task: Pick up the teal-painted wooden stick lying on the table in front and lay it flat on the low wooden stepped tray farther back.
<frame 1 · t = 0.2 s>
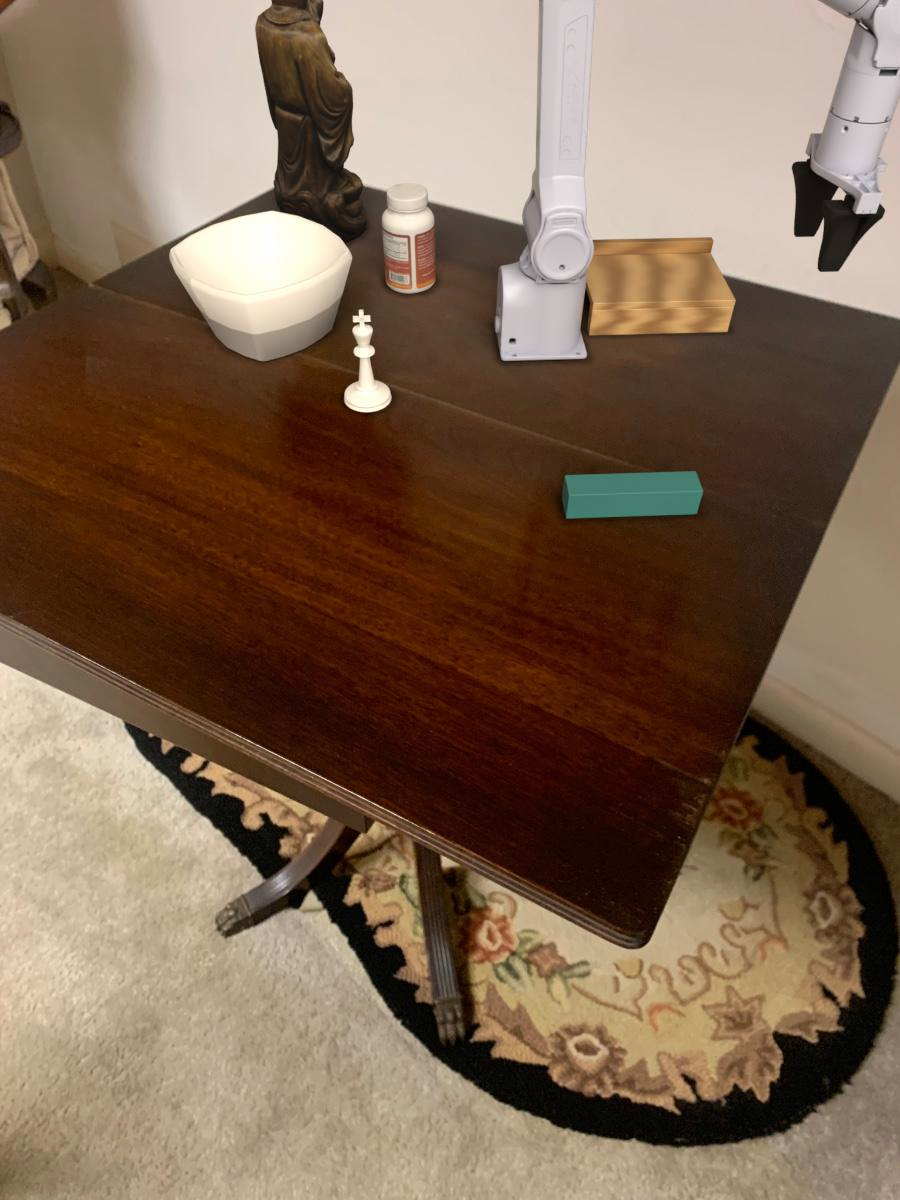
hand: (815, 252, 93), 10 cm above the table, tool pointing down, fingers open, 7 cm apart
pill bottle: (410, 284, 109), on the table
stick: (628, 506, 81), on the table
bowl: (272, 331, 101), on the table
sculpture: (325, 230, 118), on the table
wooden stepped tray: (647, 306, 105), on the table
chess piece: (367, 400, 92), on the table
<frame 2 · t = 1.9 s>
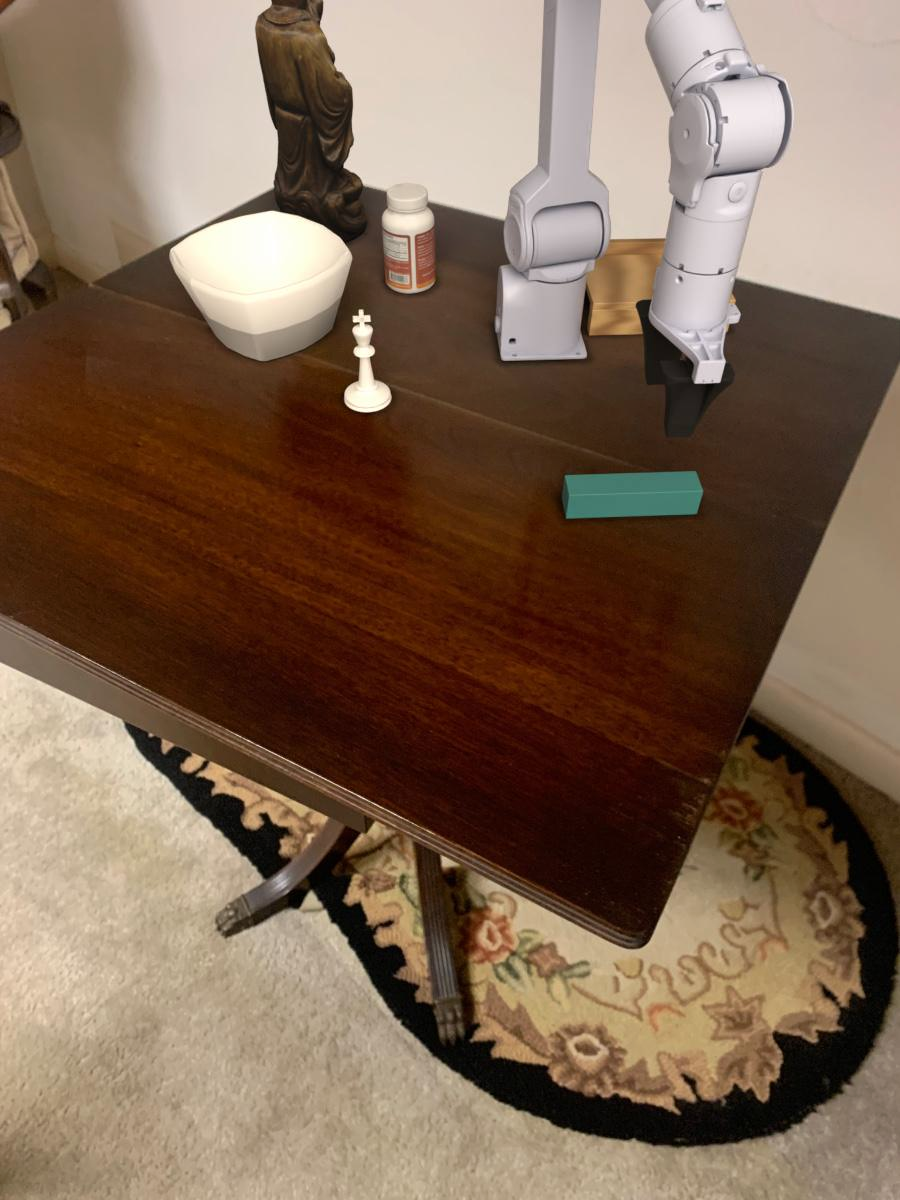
hand: (667, 407, 77), 9 cm above the table, tool pointing down, fingers open, 7 cm apart
nothing on the table moved.
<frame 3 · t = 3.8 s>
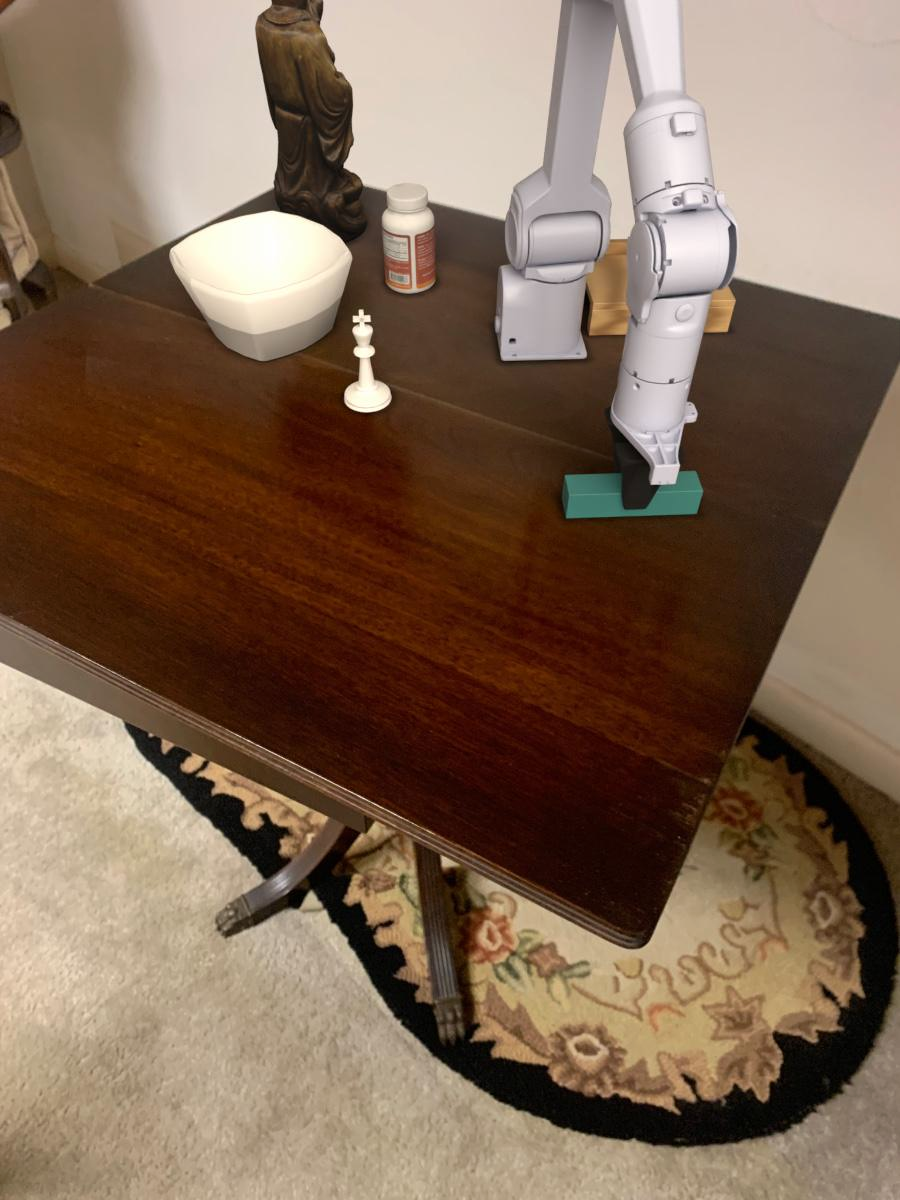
hand: (631, 494, 80), 1 cm above the table, tool pointing down, fingers closed on stick, 3 cm apart
stick: (628, 506, 81), on the table, touching gripper
everything else where it was.
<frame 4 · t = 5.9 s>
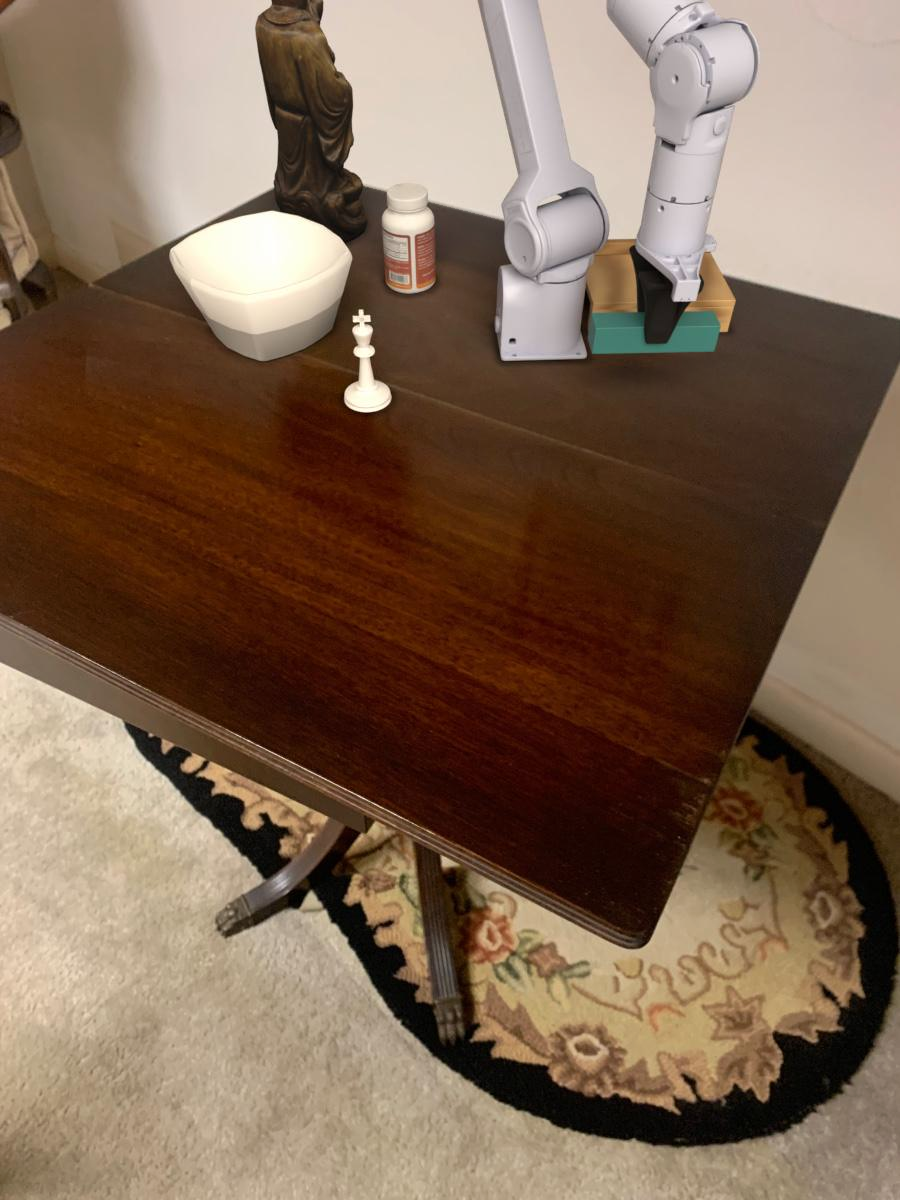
hand: (652, 332, 85), 8 cm above the table, tool pointing down, fingers closed on stick, 3 cm apart
stick: (650, 345, 87), point 7 cm above the table, touching gripper
everything else where it was.
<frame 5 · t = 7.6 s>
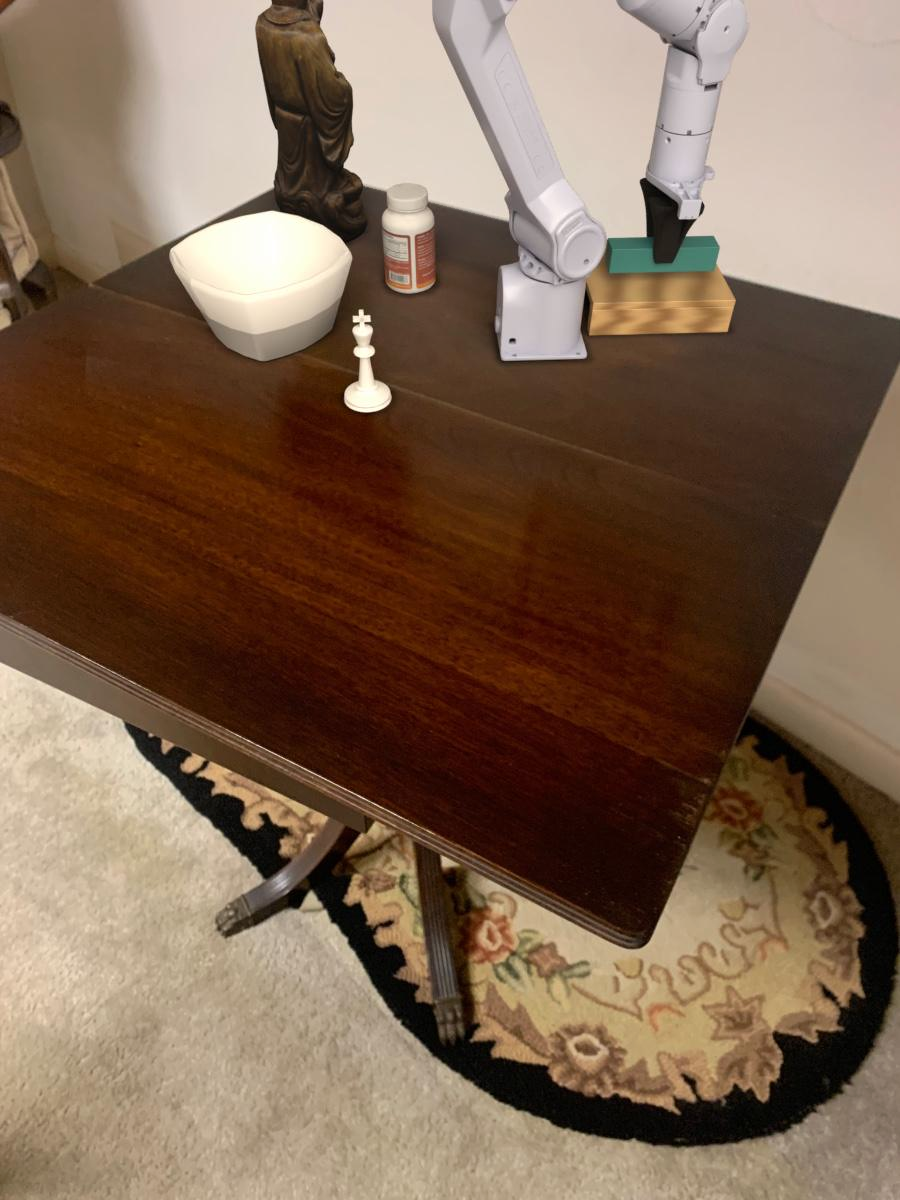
hand: (660, 254, 99), 7 cm above the table, tool pointing down, fingers closed on stick, 3 cm apart
stick: (659, 266, 100), point 6 cm above the table, touching gripper
everything else where it was.
when the fingers open (5 cm above the table, at t = 8.4 s): stick stays where it is, resting on wooden stepped tray.
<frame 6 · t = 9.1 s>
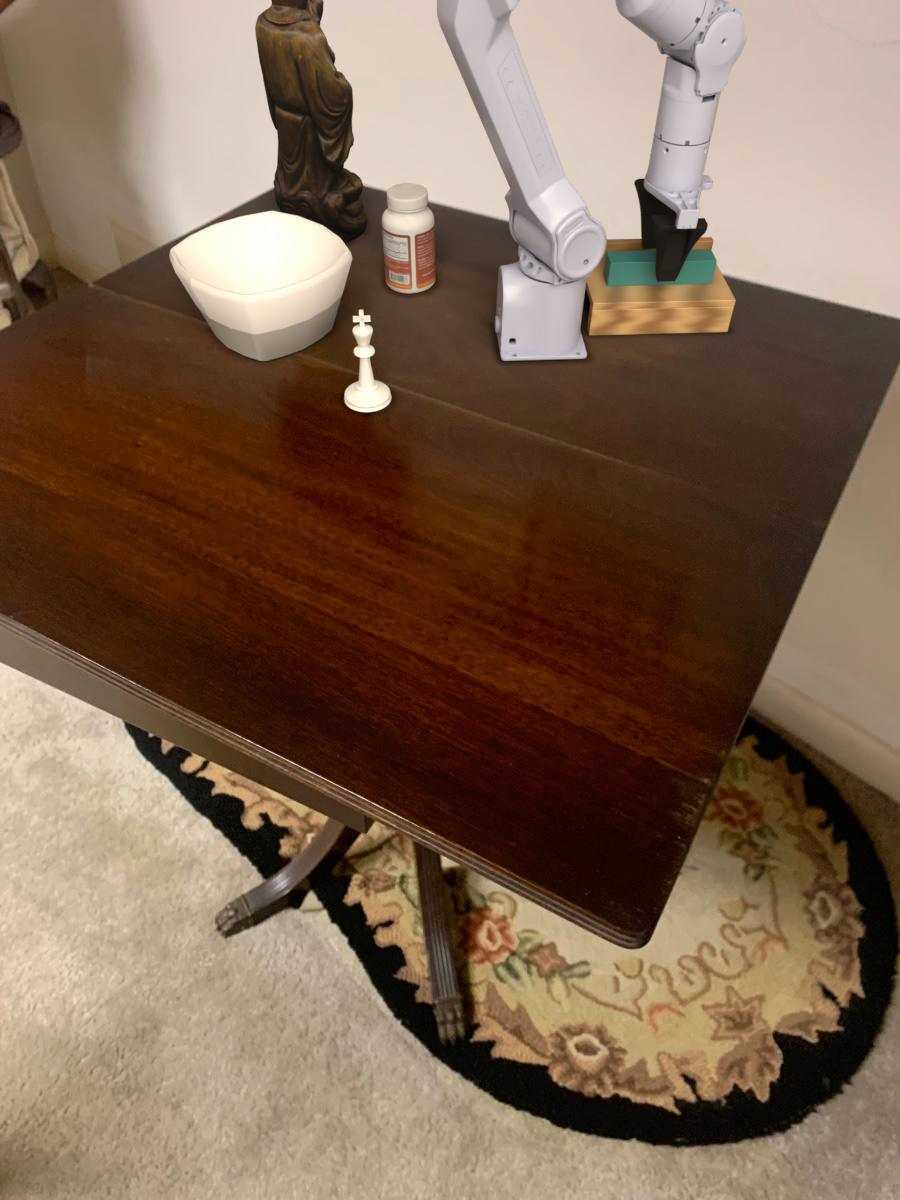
hand: (658, 263, 100), 6 cm above the table, tool pointing down, fingers open, 7 cm apart
stick: (656, 279, 101), point 4 cm above the table, touching wooden stepped tray
everything else where it was.
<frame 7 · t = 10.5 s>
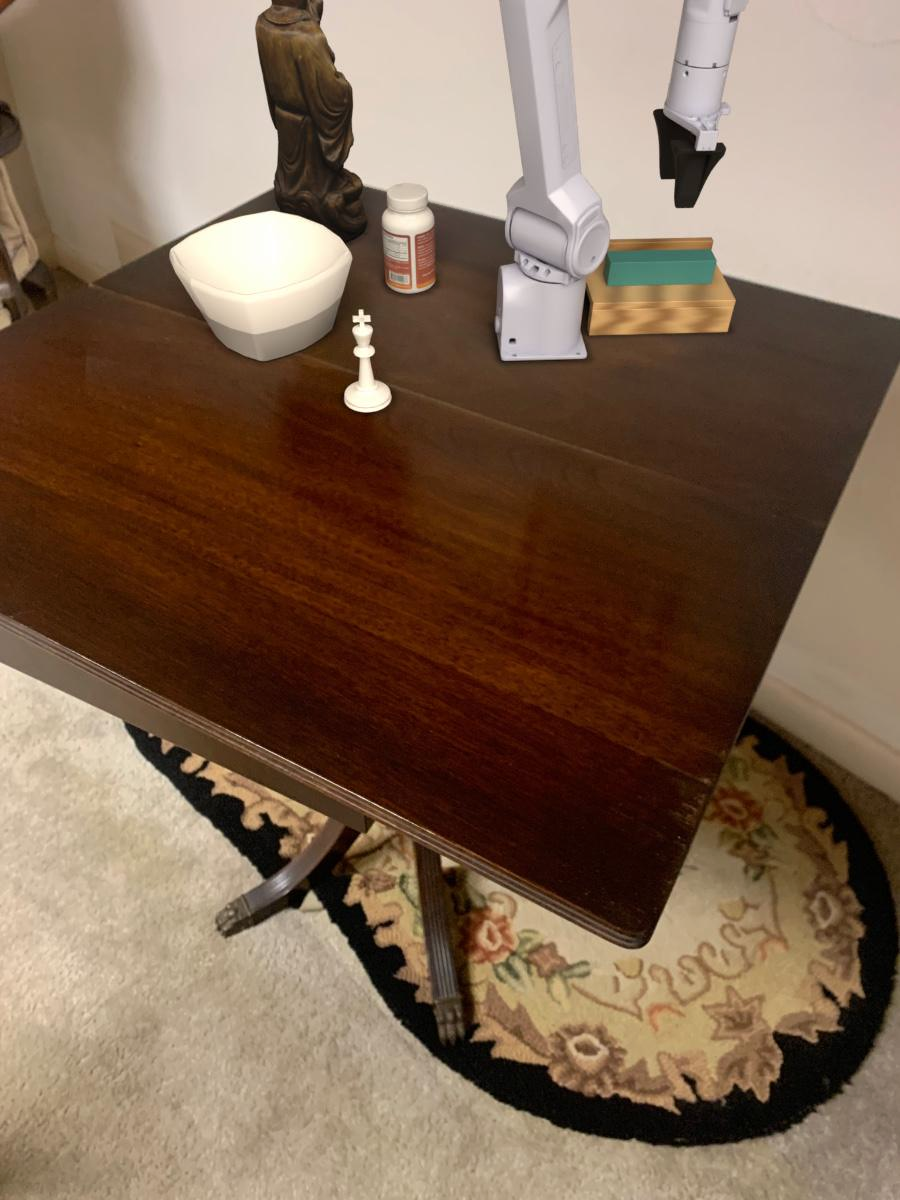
hand: (676, 192, 102), 10 cm above the table, tool pointing down, fingers open, 7 cm apart
nothing on the table moved.
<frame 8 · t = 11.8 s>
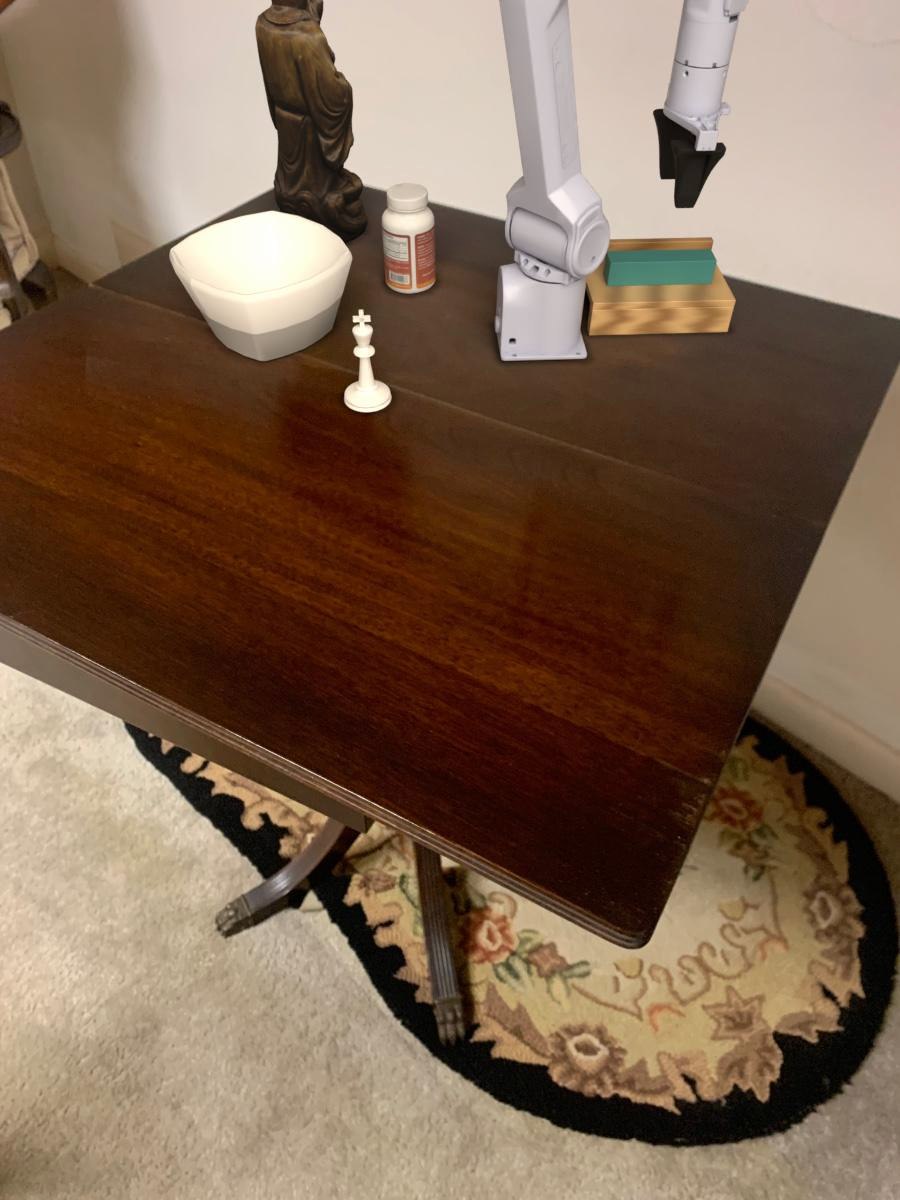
hand: (676, 192, 102), 10 cm above the table, tool pointing down, fingers open, 7 cm apart
nothing on the table moved.
at the end: stick inside the target area on the wooden stepped tray (1.0 cm from its centre), point 4.0 cm above the wooden stepped tray's base; stick tilted 0°; the gripper is holding nothing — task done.
